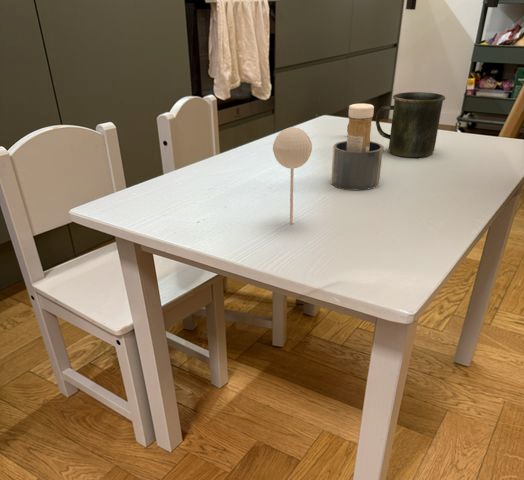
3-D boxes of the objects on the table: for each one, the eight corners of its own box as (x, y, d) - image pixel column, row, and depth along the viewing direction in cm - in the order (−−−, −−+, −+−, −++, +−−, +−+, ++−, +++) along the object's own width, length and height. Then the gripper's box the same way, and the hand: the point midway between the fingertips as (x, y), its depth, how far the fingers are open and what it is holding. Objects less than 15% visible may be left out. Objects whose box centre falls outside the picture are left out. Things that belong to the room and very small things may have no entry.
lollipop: (287, 233, 80) (288, 134, 71) (265, 222, 84) (264, 127, 75) (316, 224, 83) (321, 128, 74) (294, 214, 87) (296, 121, 78)
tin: (372, 174, 104) (376, 139, 100) (384, 189, 97) (388, 151, 93) (327, 176, 104) (329, 141, 100) (335, 191, 96) (338, 153, 92)
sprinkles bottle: (371, 179, 99) (379, 105, 91) (353, 183, 97) (360, 108, 89) (356, 173, 102) (362, 101, 94) (338, 177, 100) (344, 104, 93)
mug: (436, 159, 112) (447, 101, 105) (371, 157, 115) (377, 99, 108) (434, 147, 121) (444, 92, 114) (373, 145, 124) (378, 91, 116)
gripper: (554, -170, 73) (514, 5, 86) (386, -168, 72) (371, 9, 85) (584, -184, 67) (536, 7, 80) (401, -182, 66) (382, 11, 79)
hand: (451, 8), depth 82 cm, fingers open, 13 cm apart
